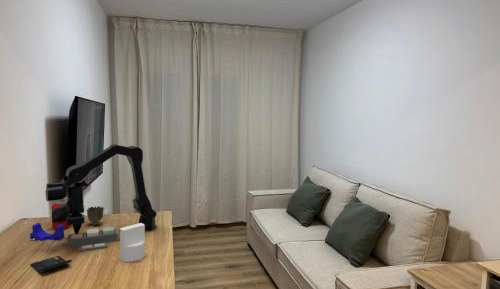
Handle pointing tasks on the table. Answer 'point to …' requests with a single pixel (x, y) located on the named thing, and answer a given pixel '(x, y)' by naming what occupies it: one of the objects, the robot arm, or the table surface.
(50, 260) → the calculator
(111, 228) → the sage key
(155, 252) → the table surface
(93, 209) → the cup
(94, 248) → the strip
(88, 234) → the cream key
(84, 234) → the keypad
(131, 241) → the cylinder with rectangular tab
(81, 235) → the terracotta key
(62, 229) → the cable clip
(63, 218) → the soda can
